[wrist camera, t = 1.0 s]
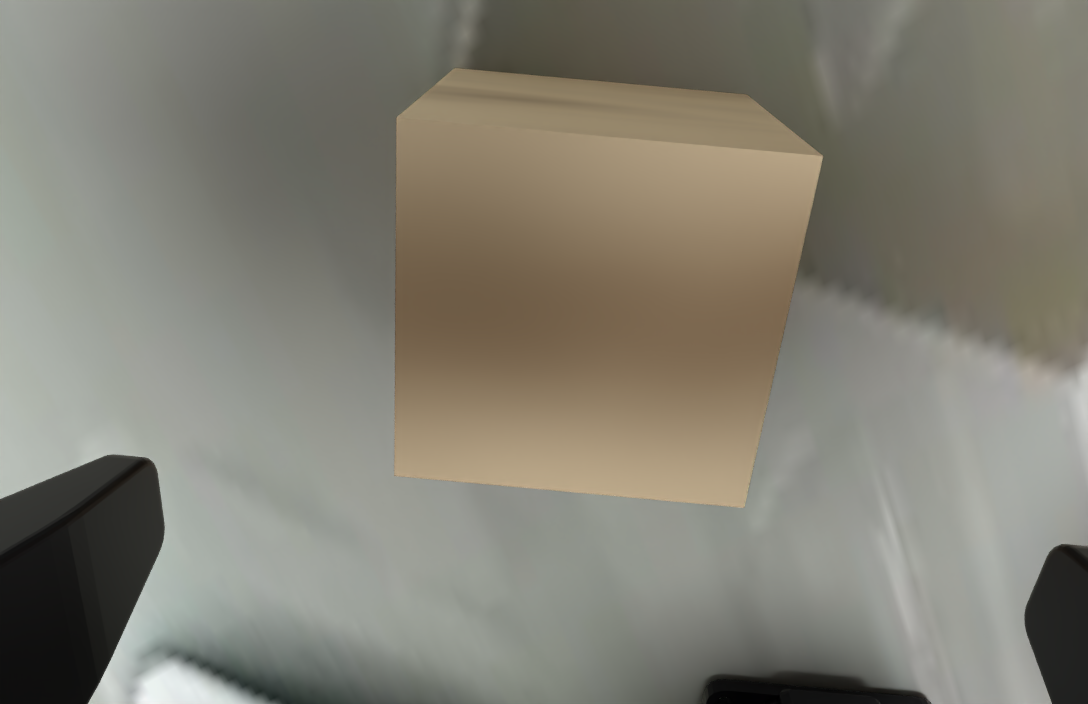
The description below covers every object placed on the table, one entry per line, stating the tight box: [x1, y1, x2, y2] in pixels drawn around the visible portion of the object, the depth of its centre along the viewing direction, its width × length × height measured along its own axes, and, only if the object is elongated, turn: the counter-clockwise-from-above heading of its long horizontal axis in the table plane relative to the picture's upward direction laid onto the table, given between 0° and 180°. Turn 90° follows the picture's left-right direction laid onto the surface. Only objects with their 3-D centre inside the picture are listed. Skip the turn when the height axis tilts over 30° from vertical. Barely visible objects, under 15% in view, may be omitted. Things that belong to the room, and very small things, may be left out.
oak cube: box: [394, 68, 823, 508], centre depth 16 cm, size 6×6×6 cm
